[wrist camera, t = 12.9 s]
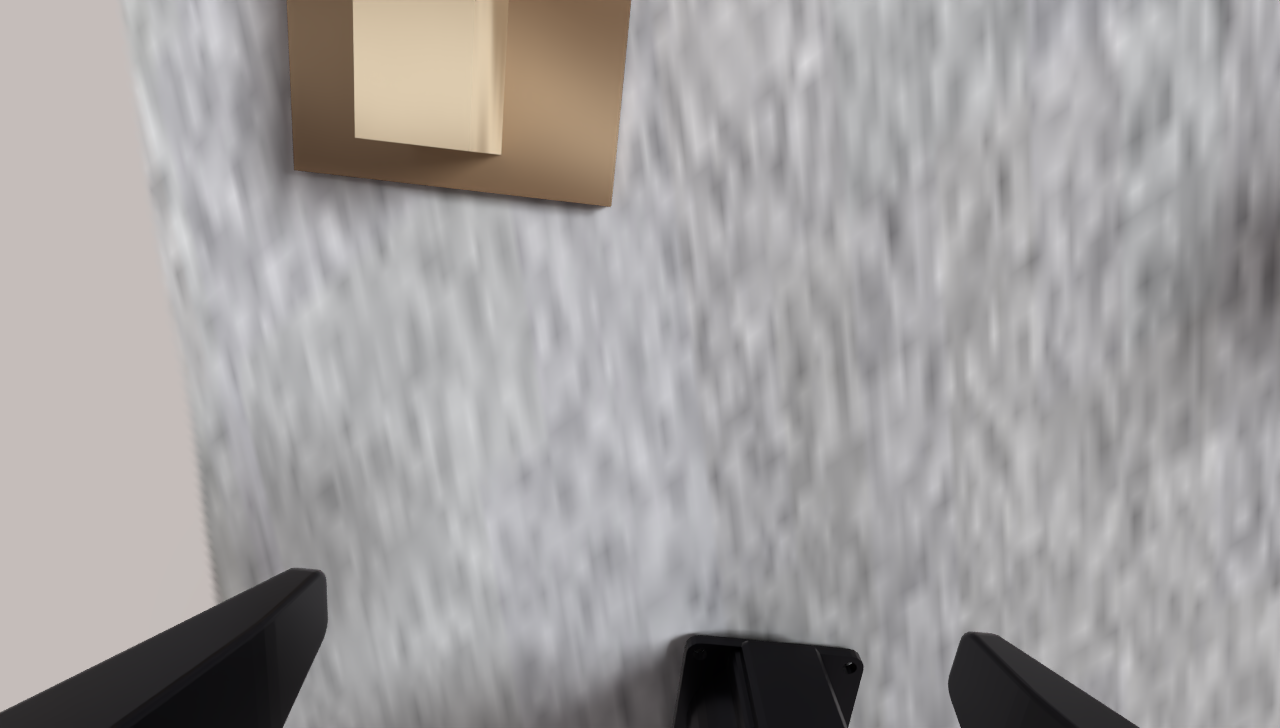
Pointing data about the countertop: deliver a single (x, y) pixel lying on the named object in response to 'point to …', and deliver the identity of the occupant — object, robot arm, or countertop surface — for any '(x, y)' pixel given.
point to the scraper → (430, 72)
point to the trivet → (532, 114)
